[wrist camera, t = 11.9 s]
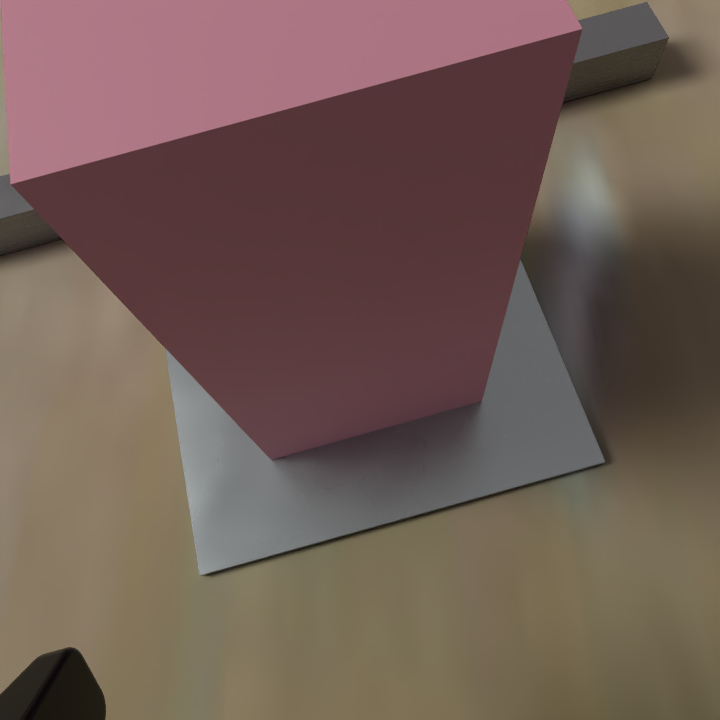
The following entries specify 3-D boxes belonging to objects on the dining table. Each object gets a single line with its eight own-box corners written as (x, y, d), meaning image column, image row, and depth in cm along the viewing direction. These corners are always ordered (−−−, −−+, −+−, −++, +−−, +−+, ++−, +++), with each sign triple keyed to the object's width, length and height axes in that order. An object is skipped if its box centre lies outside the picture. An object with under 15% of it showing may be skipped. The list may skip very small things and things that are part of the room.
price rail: (628, 40, 20) (644, -3, 19) (840, 397, 16) (880, 375, 14) (-46, 222, 20) (-81, 192, 19) (-42, 644, 15) (-88, 646, 14)
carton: (482, 400, 16) (582, 28, 6) (270, 459, 16) (10, 184, 6) (416, 216, 18) (407, -283, 8) (230, 267, 18) (-9, -174, 8)
